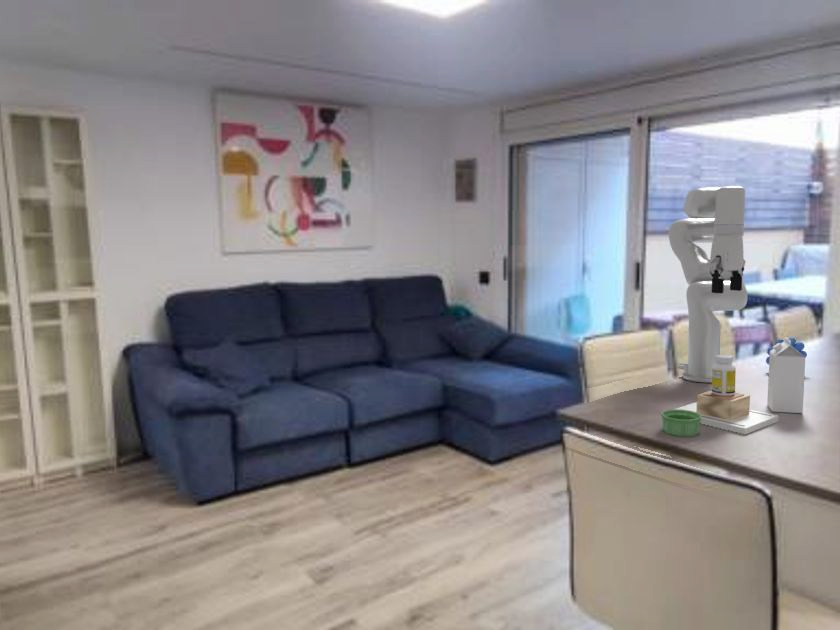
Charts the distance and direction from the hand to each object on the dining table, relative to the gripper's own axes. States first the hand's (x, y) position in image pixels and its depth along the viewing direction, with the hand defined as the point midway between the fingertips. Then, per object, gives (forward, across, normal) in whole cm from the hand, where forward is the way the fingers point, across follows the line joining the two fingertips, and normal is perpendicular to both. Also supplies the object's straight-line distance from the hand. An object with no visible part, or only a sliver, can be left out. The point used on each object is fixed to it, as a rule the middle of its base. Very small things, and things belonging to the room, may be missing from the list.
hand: (726, 291), depth 182 cm
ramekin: (+31, +39, +11) cm, 51 cm away
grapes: (+31, -42, -2) cm, 52 cm away
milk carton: (+31, +2, +18) cm, 35 cm away
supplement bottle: (+24, +22, +12) cm, 35 cm away
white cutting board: (+30, +22, +12) cm, 39 cm away
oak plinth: (+29, +22, +12) cm, 38 cm away
